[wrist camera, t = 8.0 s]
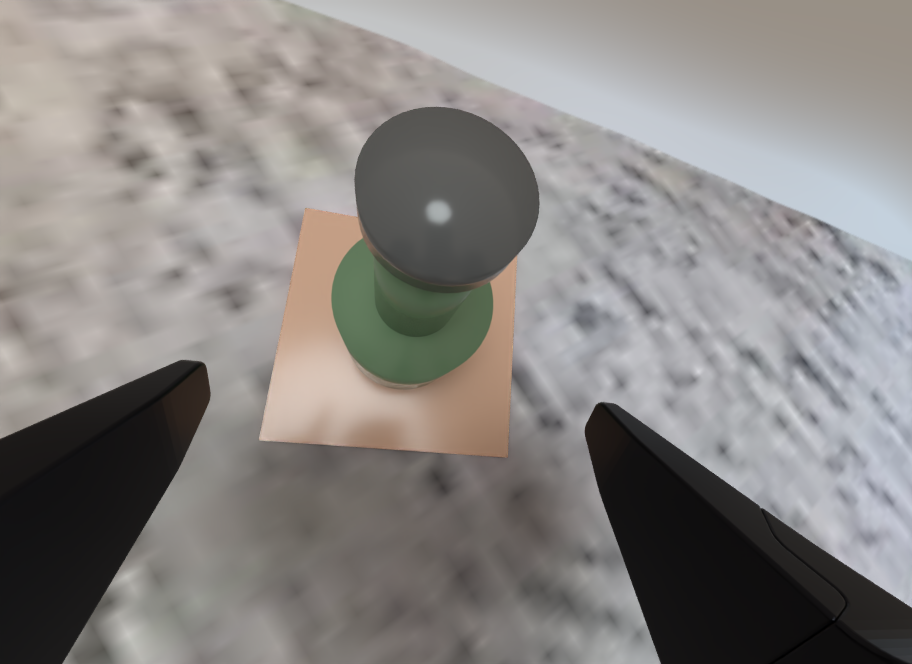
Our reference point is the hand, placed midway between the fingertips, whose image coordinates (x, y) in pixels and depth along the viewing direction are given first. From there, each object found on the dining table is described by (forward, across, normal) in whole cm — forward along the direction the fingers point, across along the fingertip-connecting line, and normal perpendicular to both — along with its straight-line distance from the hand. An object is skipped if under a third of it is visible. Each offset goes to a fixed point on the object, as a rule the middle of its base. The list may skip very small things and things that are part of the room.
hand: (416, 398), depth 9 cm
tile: (+11, 0, +5) cm, 12 cm away
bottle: (+10, 0, +4) cm, 11 cm away
